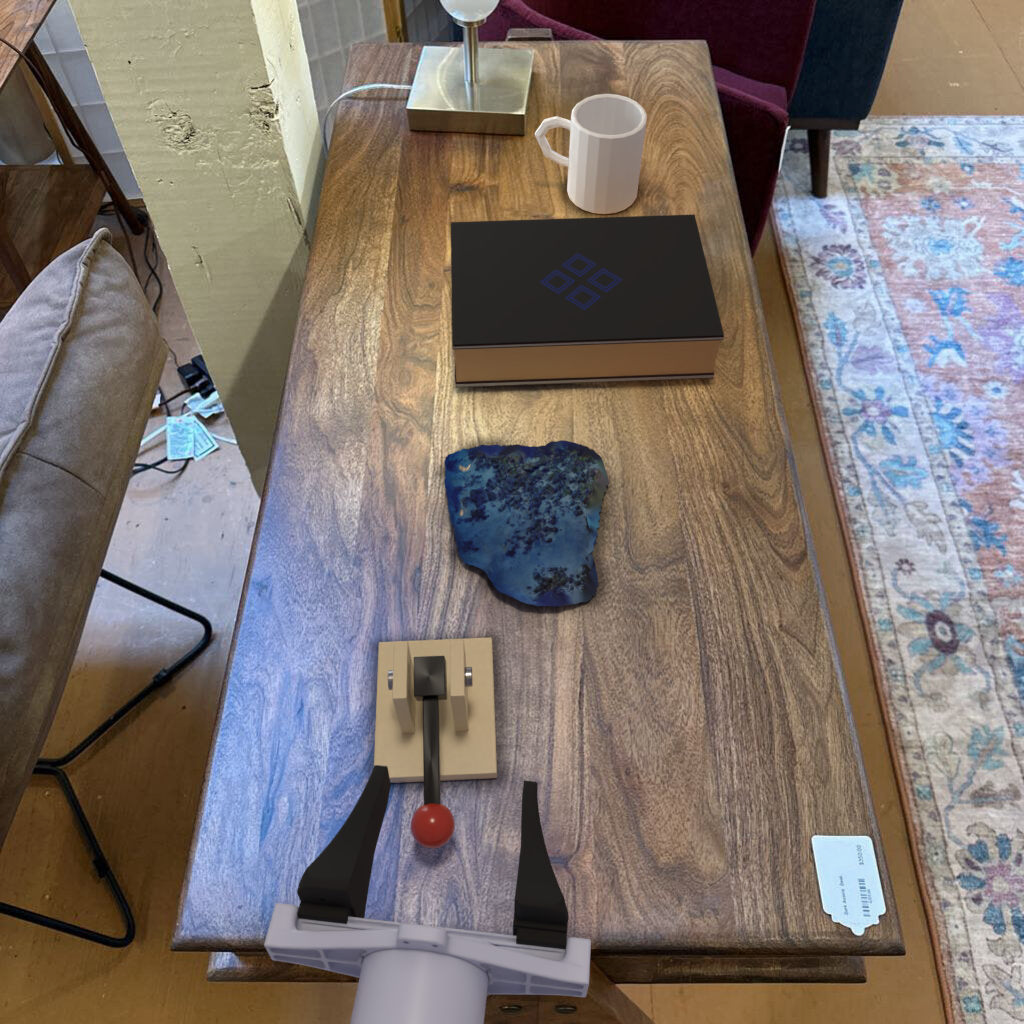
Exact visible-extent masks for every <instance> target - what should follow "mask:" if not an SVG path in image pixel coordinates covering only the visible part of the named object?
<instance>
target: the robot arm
mask: <svg viewBox="0 0 1024 1024" xmlns="http://www.w3.org/2000/svg"><path fill="white" fill-rule="evenodd" d="M391 784H392V783H390V778H389V772H388V767H387V766H380V765H375V766H374V765H373V768H372V771H371V773H370V776H369V778H368V780H367V782H366V783H365V787H364V788H363V790H362V792H361V794H360V796H359V797H358V800H357V802H356V804H355V805H354V807H353V809H352V810H351V812H350V814H349V815H348V817H347V819H346V820H345V821H344V823H343V824H342V826H341V827H340V829H339V830H338V831H337V833H336V834H335V835H334V837H333V838H332V839H331V841H330V842H329V843H328V844H327V846H326V847H325V848H324V849H322V851H321V852H320V854H319V855H318V856H317V857H316V858H315V859H314V860H313V861H312V862H311V863H310V864H309V865H308V866H306V869H305V870H304V871H303V874H302V876H301V877H300V880H299V882H298V885H297V886H298V887H297V889H296V893H297V895H298V899H299V906H298V905H297V904H292V903H291V904H289V903H280V902H276V903H275V904H274V908H273V912H272V915H271V919H270V922H269V925H268V929H267V933H266V936H265V940H264V943H263V946H264V948H265V950H266V952H267V953H268V956H269V957H270V959H271V961H273V962H274V961H275V962H283V963H289V964H295V965H301V966H306V967H310V968H314V969H320V970H324V971H328V972H332V973H337V974H341V975H346V976H348V977H349V976H350V977H354V978H358V983H357V988H356V993H355V998H354V1002H353V1008H352V1013H351V1016H350V1021H349V1024H485V1015H486V1008H487V1000H488V999H487V998H488V995H519V996H521V995H524V996H528V995H529V996H531V995H533V996H535V995H536V996H563V997H564V996H565V997H575V998H576V997H577V998H586V997H587V996H588V990H589V986H590V972H591V953H592V951H591V949H592V939H591V938H584V937H575V936H569V937H567V936H568V925H569V919H570V918H569V910H568V907H567V903H566V899H565V896H564V894H563V891H562V889H561V887H560V884H559V882H558V880H557V877H556V874H555V871H554V869H553V866H552V862H551V859H550V857H549V853H548V849H547V846H546V841H545V837H544V833H543V828H542V823H541V817H540V809H539V799H538V786H539V785H538V782H537V781H533V780H523V784H522V794H521V814H520V815H521V816H520V848H519V858H518V868H517V877H516V884H515V892H514V893H515V894H514V903H513V904H514V905H513V907H514V908H513V921H512V922H513V924H512V934H505V933H504V934H503V933H495V932H487V931H477V930H469V929H463V928H461V929H460V928H453V927H445V926H444V927H442V926H434V925H427V924H418V923H417V924H416V923H408V922H400V921H391V920H383V919H374V918H366V916H365V915H366V909H367V903H368V902H367V901H368V895H369V894H368V893H369V888H370V883H371V876H372V870H373V864H374V859H375V852H376V849H377V845H378V841H379V838H380V833H381V831H382V827H383V823H384V819H385V816H386V813H387V808H388V803H389V798H390V791H391Z"/></svg>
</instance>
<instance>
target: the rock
mask: <svg viewBox="0 0 1024 1024" xmlns="http://www.w3.org/2000/svg"><path fill="white" fill-rule="evenodd" d="M601 456H602V455H600V454H598V453H597V451H596V450H594V449H593V448H590V447H588V446H587V445H583V444H581V443H577V442H575V441H574V442H573V441H568V440H566V439H565V440H563V439H561V440H557V441H556V440H555V441H554V440H553V441H549V442H547V443H546V444H545V445H539V446H537V445H536V446H534V445H533V446H528V445H522V444H509V445H505V444H503V445H500V444H490V445H489V444H480V445H478V446H473V447H469V448H461V449H459V450H456V451H454V452H452V453H449V454H448V455H446V456H445V459H444V461H443V462H444V468H445V469H444V471H445V474H444V488H445V490H446V491H445V493H446V497H447V510H448V514H449V515H448V516H449V519H450V522H451V526H452V527H453V532H454V538H455V544H456V547H457V551H458V556H459V559H461V561H462V562H463V564H465V566H474V567H475V568H478V569H481V570H482V571H483V572H484V573H485V574H486V576H487V578H488V579H489V580H490V581H491V584H492V585H493V586H494V588H495V590H496V592H497V593H499V594H502V595H506V596H508V597H510V598H513V599H514V600H517V601H519V602H521V603H524V604H526V605H533V606H536V607H548V606H549V607H557V608H560V607H564V606H566V605H577V604H580V603H587V602H589V601H590V600H591V599H592V598H593V597H595V596H597V591H598V587H599V584H600V583H599V575H598V571H597V568H596V567H597V566H596V563H595V558H594V555H593V552H595V545H597V537H599V534H598V528H600V522H599V521H600V519H601V517H600V512H602V508H601V507H602V506H603V504H604V502H603V499H604V498H605V493H606V492H607V491H608V488H607V486H609V485H610V480H609V476H608V472H607V469H606V467H605V464H604V460H603V458H602V457H601ZM461 467H463V468H465V469H466V470H462V469H461ZM467 468H468V469H467ZM461 510H462V515H460V513H461Z"/></svg>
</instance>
